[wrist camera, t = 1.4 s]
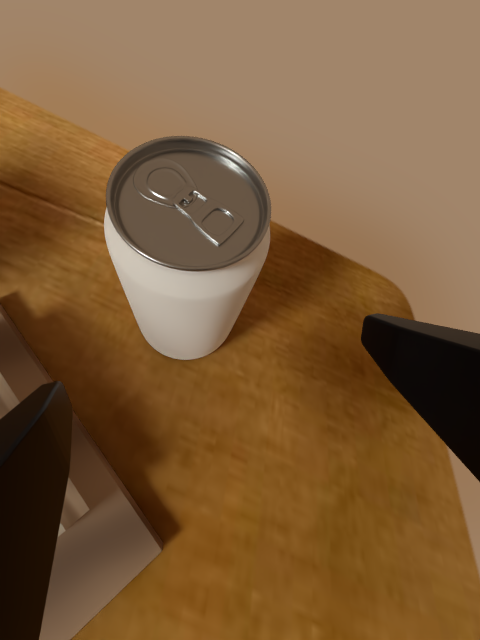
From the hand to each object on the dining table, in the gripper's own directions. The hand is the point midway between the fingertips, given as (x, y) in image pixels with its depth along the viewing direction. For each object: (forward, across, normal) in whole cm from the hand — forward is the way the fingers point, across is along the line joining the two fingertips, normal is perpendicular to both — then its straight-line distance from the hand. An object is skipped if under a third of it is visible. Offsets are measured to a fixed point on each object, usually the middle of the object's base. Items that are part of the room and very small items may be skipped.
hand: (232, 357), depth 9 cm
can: (+13, 0, +5) cm, 13 cm away
